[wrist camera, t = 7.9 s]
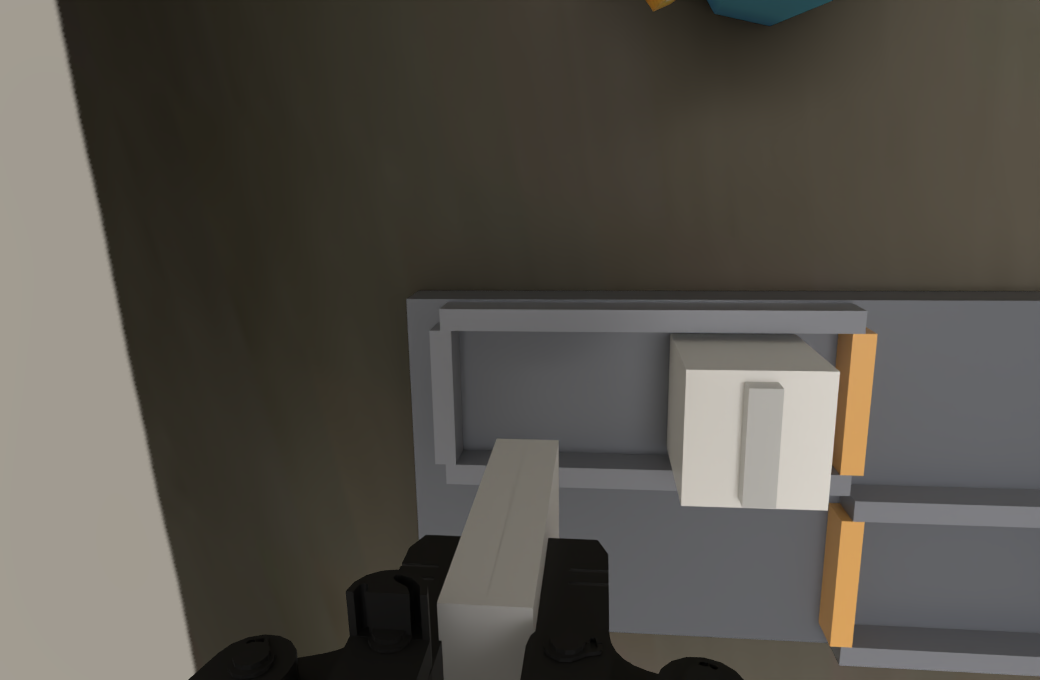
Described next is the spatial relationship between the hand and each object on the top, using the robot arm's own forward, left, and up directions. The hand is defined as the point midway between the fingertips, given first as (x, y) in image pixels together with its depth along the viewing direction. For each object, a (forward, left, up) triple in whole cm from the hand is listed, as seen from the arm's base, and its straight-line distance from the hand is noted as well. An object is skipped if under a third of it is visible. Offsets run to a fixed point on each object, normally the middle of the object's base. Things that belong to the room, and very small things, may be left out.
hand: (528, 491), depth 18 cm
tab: (+1, +7, -10) cm, 12 cm away
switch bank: (+4, +11, -13) cm, 17 cm away
